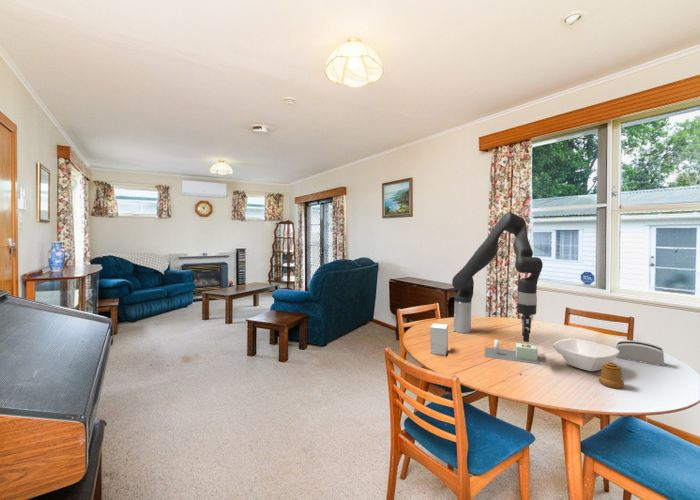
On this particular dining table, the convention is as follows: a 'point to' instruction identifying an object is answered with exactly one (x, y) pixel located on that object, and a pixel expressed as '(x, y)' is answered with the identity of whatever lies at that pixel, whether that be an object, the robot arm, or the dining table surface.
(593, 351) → the bowl
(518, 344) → the collar
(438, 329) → the supplement box
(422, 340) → the dining table surface
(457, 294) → the robot arm
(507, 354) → the board
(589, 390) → the dining table surface
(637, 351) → the grey curved slab
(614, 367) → the ornamental finial
